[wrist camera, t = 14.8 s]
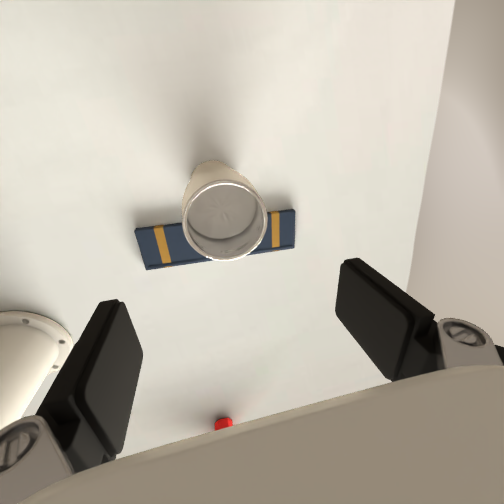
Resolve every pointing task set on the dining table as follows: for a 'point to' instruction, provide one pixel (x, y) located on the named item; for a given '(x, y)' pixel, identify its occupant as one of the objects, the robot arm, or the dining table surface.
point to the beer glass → (222, 212)
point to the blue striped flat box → (181, 252)
